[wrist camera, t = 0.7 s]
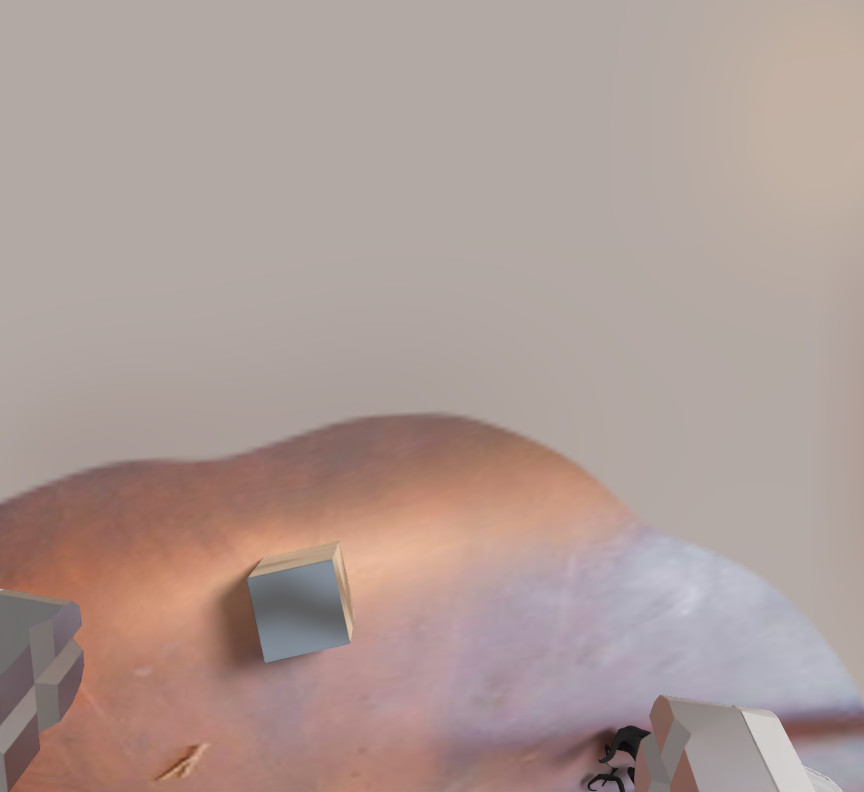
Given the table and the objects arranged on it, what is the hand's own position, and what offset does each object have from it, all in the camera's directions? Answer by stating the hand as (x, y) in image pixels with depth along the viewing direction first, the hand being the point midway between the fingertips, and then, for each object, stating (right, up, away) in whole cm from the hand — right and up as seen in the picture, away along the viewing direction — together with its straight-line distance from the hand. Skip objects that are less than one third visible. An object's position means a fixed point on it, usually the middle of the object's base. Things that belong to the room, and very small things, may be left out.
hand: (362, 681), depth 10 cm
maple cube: (-9, -11, +44) cm, 46 cm away
